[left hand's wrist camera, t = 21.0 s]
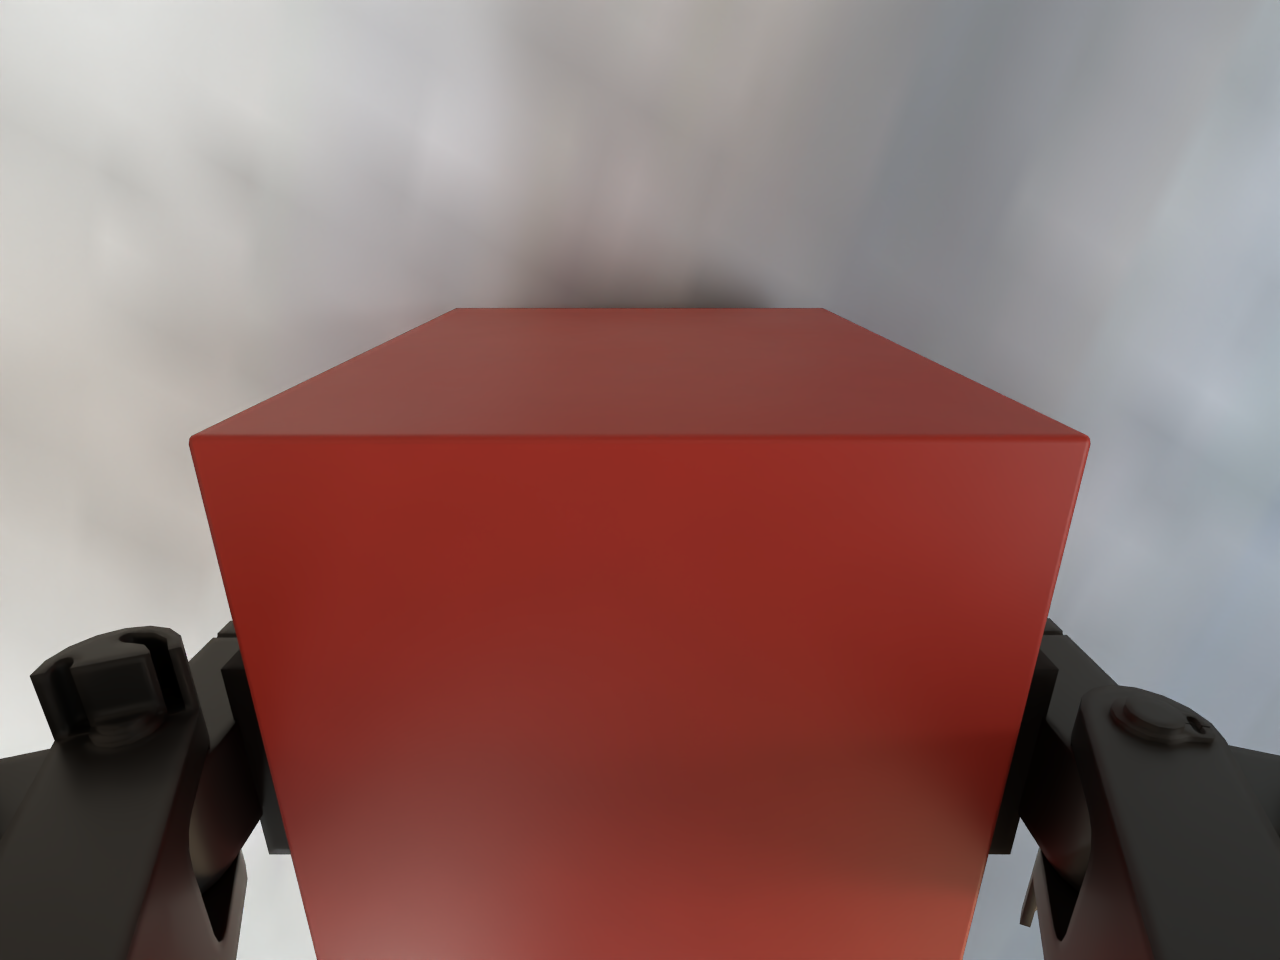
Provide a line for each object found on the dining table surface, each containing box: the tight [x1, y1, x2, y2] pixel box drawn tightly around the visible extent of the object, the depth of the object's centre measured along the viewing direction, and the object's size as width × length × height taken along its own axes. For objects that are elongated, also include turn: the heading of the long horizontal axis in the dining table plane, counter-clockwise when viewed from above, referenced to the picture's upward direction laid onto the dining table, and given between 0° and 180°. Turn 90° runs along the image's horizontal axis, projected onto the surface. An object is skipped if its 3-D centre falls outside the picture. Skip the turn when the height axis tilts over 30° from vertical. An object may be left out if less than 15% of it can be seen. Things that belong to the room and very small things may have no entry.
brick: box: [189, 308, 1090, 960], centre depth 11 cm, size 8×8×9 cm
